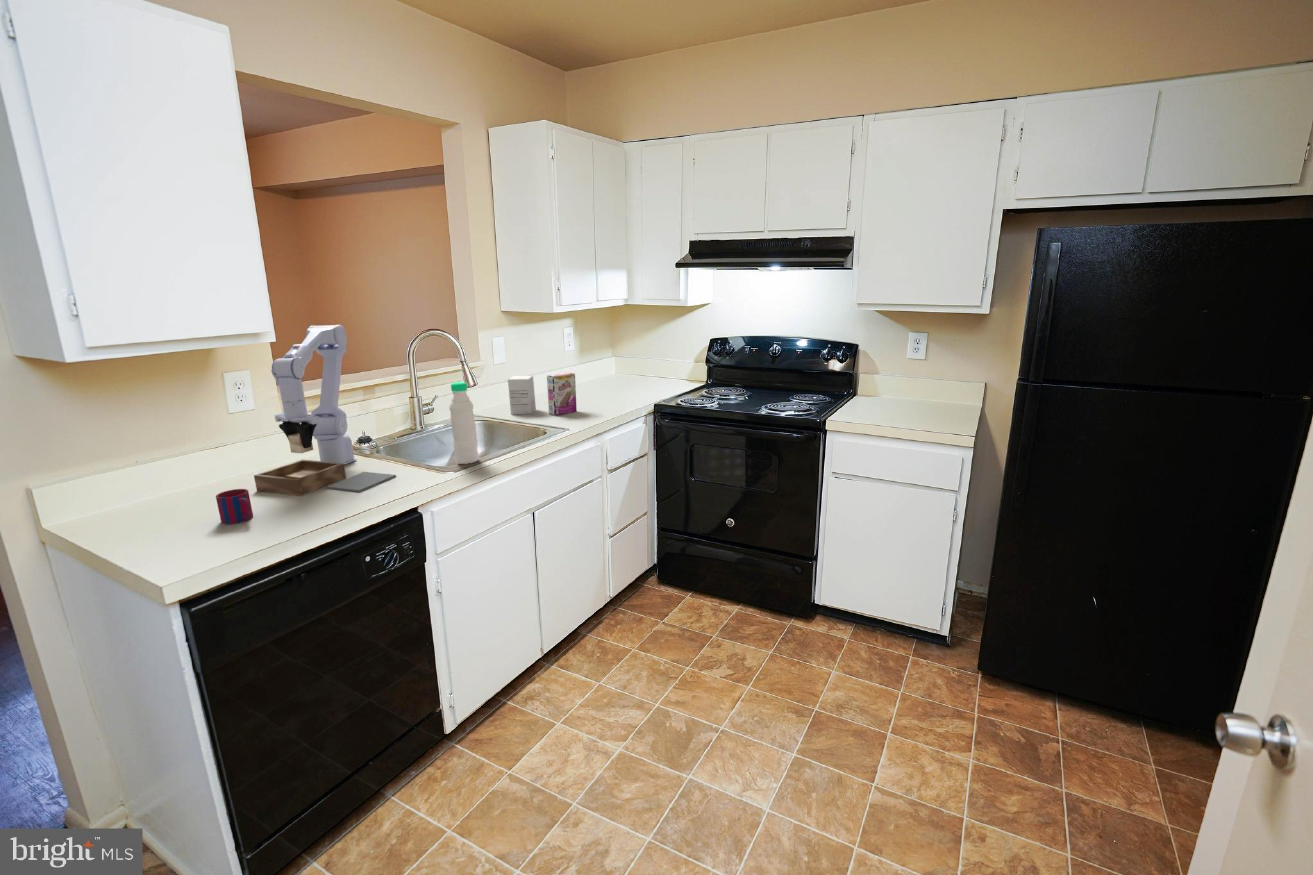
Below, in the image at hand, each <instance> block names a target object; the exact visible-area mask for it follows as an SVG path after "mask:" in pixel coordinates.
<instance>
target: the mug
mask: <svg viewBox="0 0 1313 875" xmlns="http://www.w3.org/2000/svg"><path fill="white" fill-rule="evenodd" d="M249 492H250V491H249V490H248V489H247V488H237V489H236V488H235V489H229V490H225V491H222V492H219V493H217V494H216V495H215V499H216V503H217V510H218V513H219V518H220V523H221V524H223V525H235V524H236V523H237V524H241V523H244V521H245V522H248V521H250V520H252V519H253V517H254V514H253V507H252V503H251V499H250V493H249ZM249 519H250V520H249ZM240 522H241V523H240Z"/></svg>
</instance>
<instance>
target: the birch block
mask: <svg viewBox="0 0 1313 875" xmlns="http://www.w3.org/2000/svg"><path fill="white" fill-rule="evenodd" d="M288 437H289V440H288V442H289V448H290V453H292V454H293V453H294V454H305V453H308V452H311V451H314V446H313V444H312V445H311V447H309V448H304V447H303V445H302V441H301V437H300V435H299V433H296V434H292V435H289V436H288Z"/></svg>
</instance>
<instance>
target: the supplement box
mask: <svg viewBox="0 0 1313 875" xmlns="http://www.w3.org/2000/svg"><path fill="white" fill-rule="evenodd" d="M534 384H535V383H534V375H513V376H511V377H510V378H508V379H507V385H508V386H507V387H508V394H509V395H508V397H509V406H510V415H532V414H533V413H534V412H535V411H536V409H537V408H536V407H537V406H536V394H535V385H534Z"/></svg>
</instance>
